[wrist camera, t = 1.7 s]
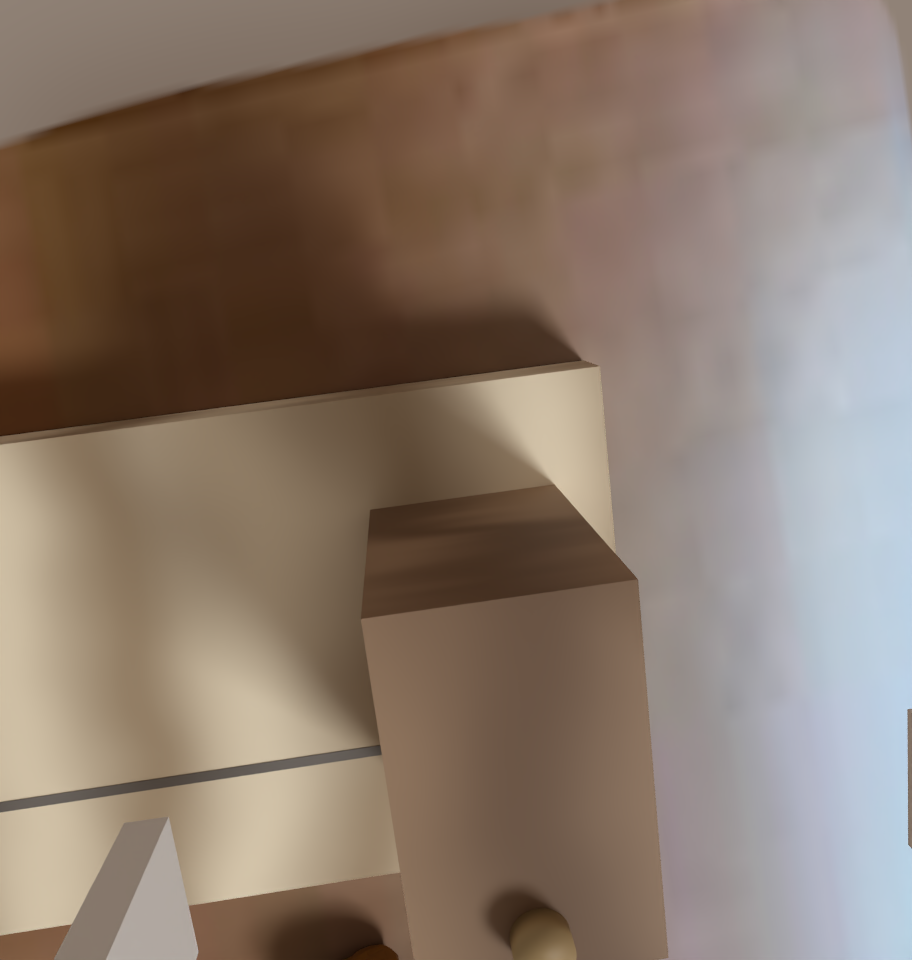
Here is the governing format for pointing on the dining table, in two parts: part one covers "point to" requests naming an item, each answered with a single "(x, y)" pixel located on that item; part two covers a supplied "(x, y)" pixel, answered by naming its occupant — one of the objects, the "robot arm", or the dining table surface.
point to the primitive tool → (374, 953)
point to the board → (233, 621)
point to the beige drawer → (513, 730)
